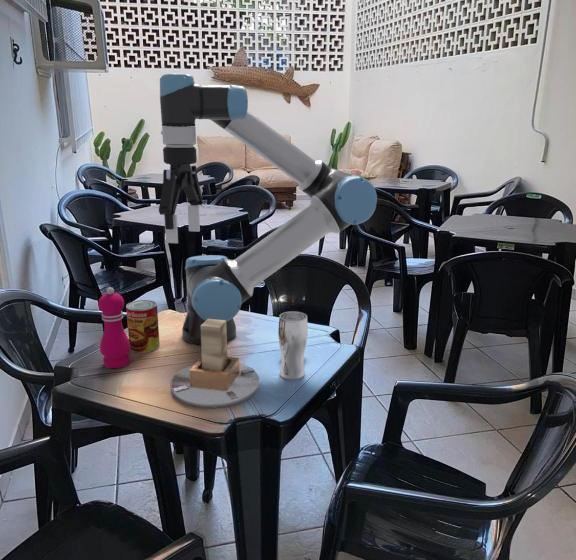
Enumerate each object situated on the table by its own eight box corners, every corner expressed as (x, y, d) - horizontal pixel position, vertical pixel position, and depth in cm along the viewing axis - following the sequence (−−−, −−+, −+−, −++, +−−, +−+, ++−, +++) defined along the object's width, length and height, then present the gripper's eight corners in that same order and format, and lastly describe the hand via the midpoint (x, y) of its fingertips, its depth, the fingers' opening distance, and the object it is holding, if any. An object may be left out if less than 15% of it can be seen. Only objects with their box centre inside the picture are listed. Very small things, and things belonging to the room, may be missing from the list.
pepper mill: (95, 366, 131) (87, 289, 125) (116, 355, 137) (109, 281, 131) (117, 372, 128) (110, 294, 122) (137, 360, 134) (132, 285, 128)
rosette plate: (191, 362, 133) (190, 342, 132) (268, 371, 129) (268, 350, 128) (156, 401, 115) (154, 379, 113) (244, 413, 111) (244, 389, 109)
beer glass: (290, 365, 133) (291, 309, 128) (312, 373, 129) (314, 315, 124) (272, 374, 128) (272, 316, 123) (294, 383, 123) (295, 323, 119)
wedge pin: (209, 374, 124) (207, 318, 120) (227, 376, 123) (226, 320, 119) (202, 382, 120) (200, 325, 116) (221, 385, 119) (219, 327, 115)
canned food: (123, 348, 141) (119, 306, 137) (144, 338, 147) (141, 298, 144) (144, 355, 137) (141, 312, 134) (165, 344, 144) (163, 303, 140)
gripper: (185, 143, 134) (189, 226, 140) (138, 148, 110) (145, 247, 116) (213, 144, 132) (216, 227, 138) (172, 149, 109) (177, 249, 115)
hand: (183, 236), depth 127 cm, fingers open, 13 cm apart
